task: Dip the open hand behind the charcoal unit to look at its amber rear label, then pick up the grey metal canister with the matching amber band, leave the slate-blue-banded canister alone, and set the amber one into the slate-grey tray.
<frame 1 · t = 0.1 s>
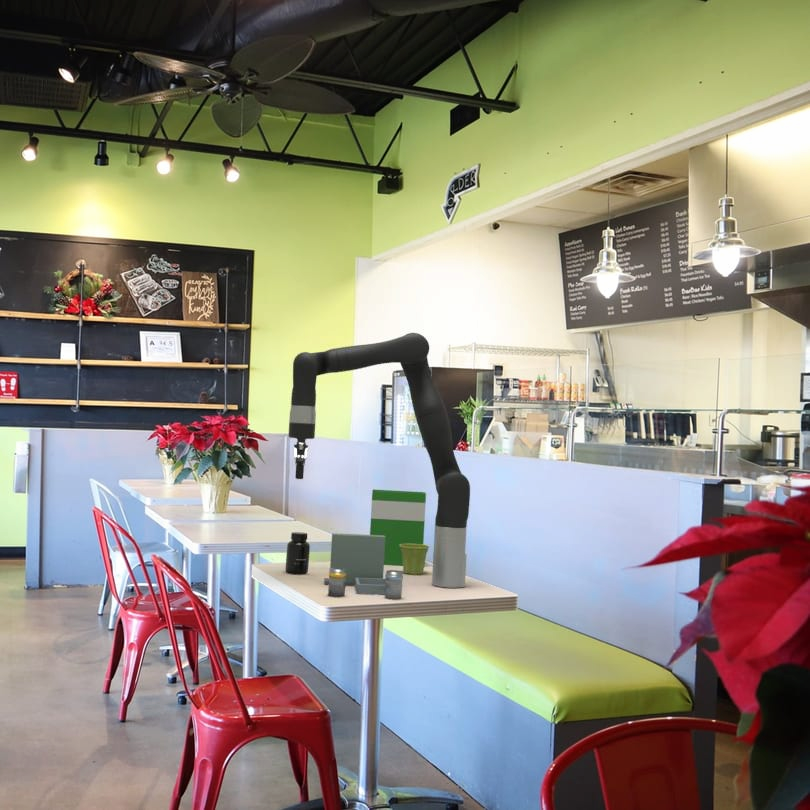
hand: (299, 478, 264), 29 cm above the table, tool pointing down, fingers open, 8 cm apart
hardback book: (395, 564, 305), on the table
supplement bottle: (296, 573, 276), on the table
tray: (375, 590, 253), on the table
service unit: (355, 584, 261), on the table
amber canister: (336, 595, 243), on the table
plant pot: (412, 573, 287), on the table
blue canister: (393, 598, 244), on the table
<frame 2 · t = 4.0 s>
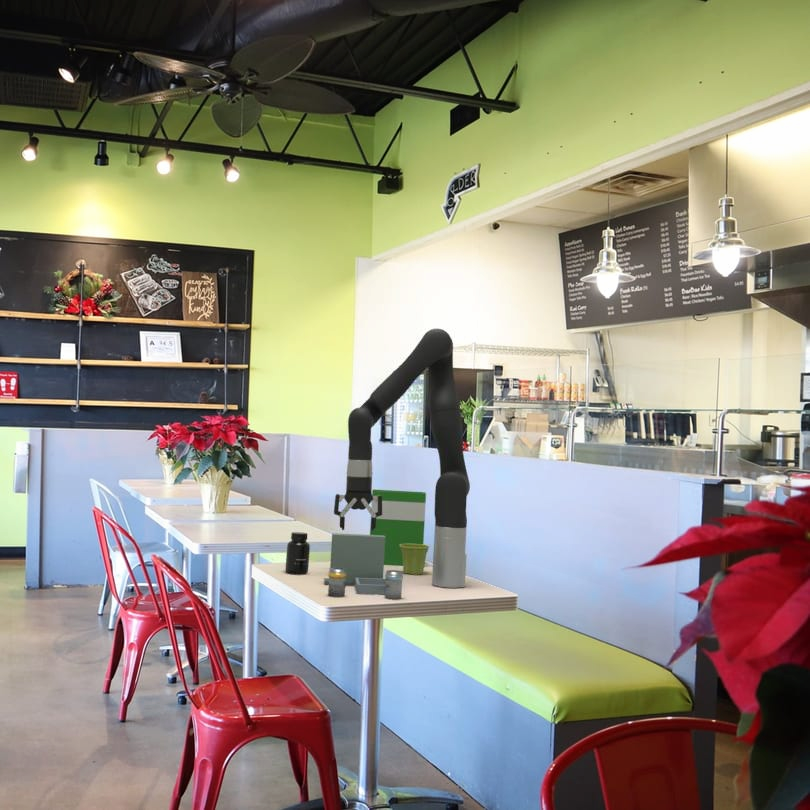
hand: (357, 530, 272), 14 cm above the table, tool pointing down, fingers open, 8 cm apart
nothing on the table moved.
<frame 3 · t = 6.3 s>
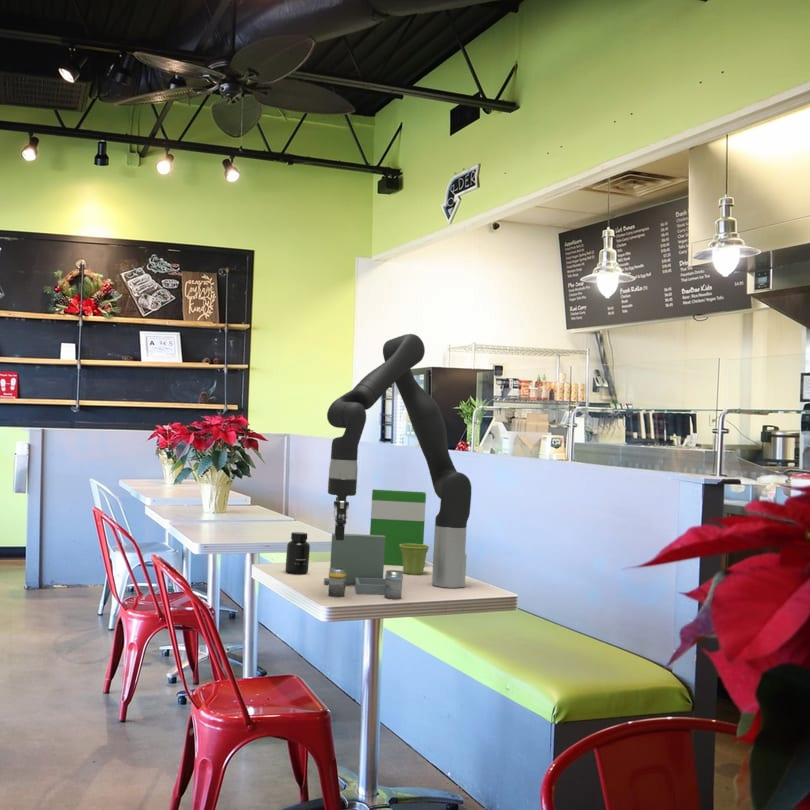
hand: (339, 538, 243), 15 cm above the table, tool pointing down, fingers open, 8 cm apart
nothing on the table moved.
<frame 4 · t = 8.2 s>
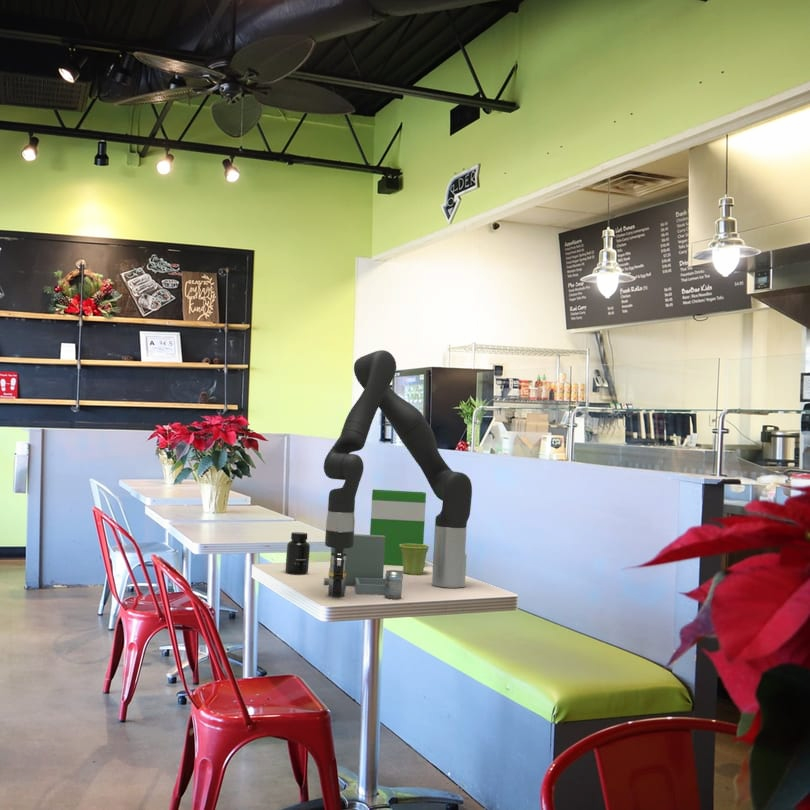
hand: (336, 593, 243), 1 cm above the table, tool pointing down, fingers closed on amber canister, 4 cm apart
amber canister: (336, 595, 243), on the table, touching gripper
everything else where it was.
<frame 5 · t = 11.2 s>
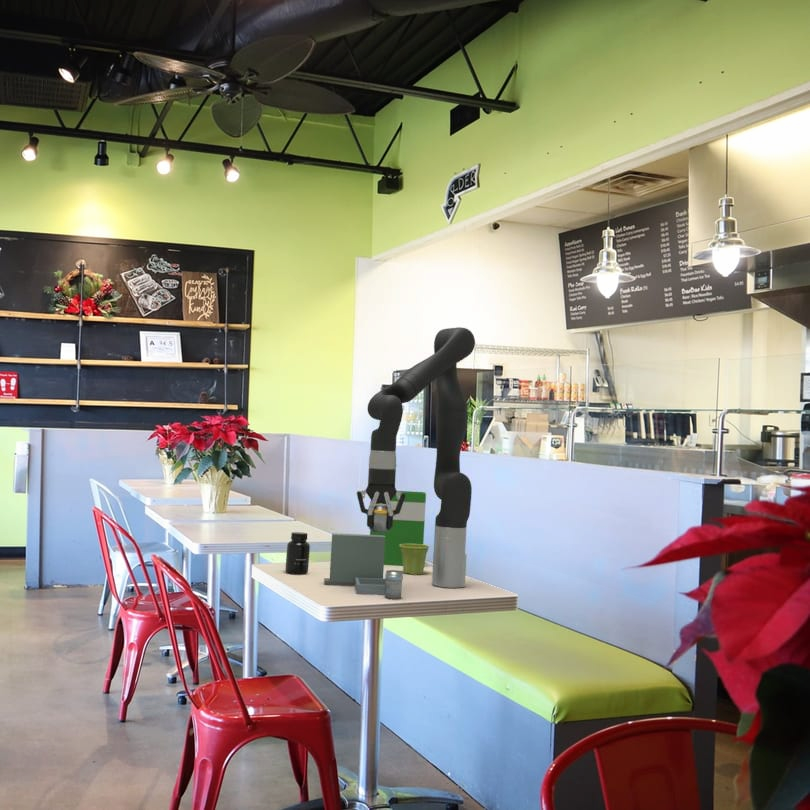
hand: (379, 528, 253), 17 cm above the table, tool pointing down, fingers closed on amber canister, 4 cm apart
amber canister: (379, 531, 253), point 16 cm above the table, touching gripper
everything else where it was.
when the fingers open (3 cm above the table, at t = 14.3 s): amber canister drops 2 cm, resting on tray.
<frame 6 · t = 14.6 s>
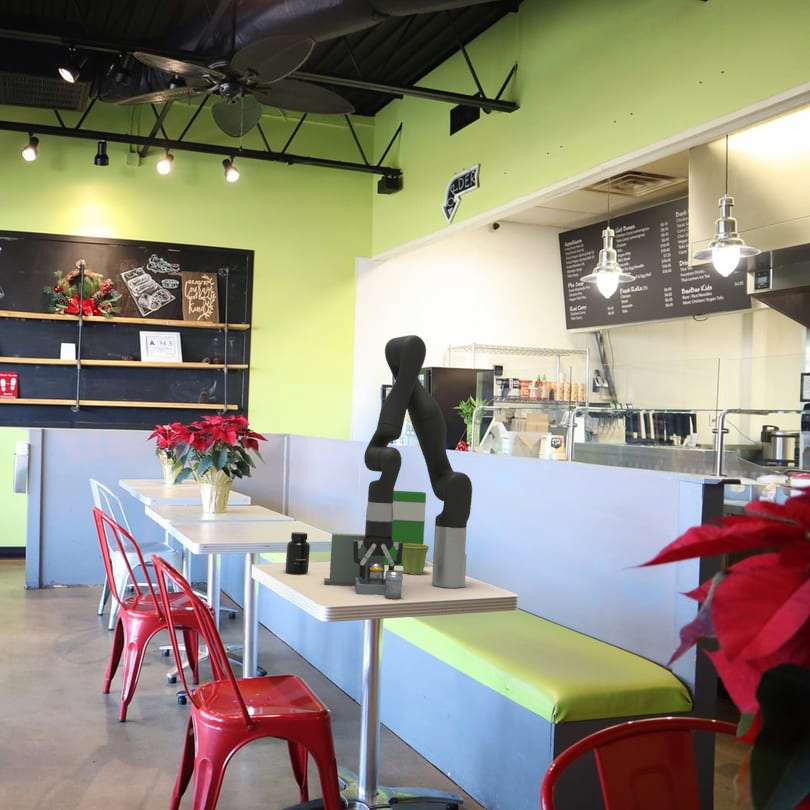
hand: (376, 579, 253), 3 cm above the table, tool pointing down, fingers open, 6 cm apart
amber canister: (375, 588, 253), point 1 cm above the table, touching tray
everything else where it was.
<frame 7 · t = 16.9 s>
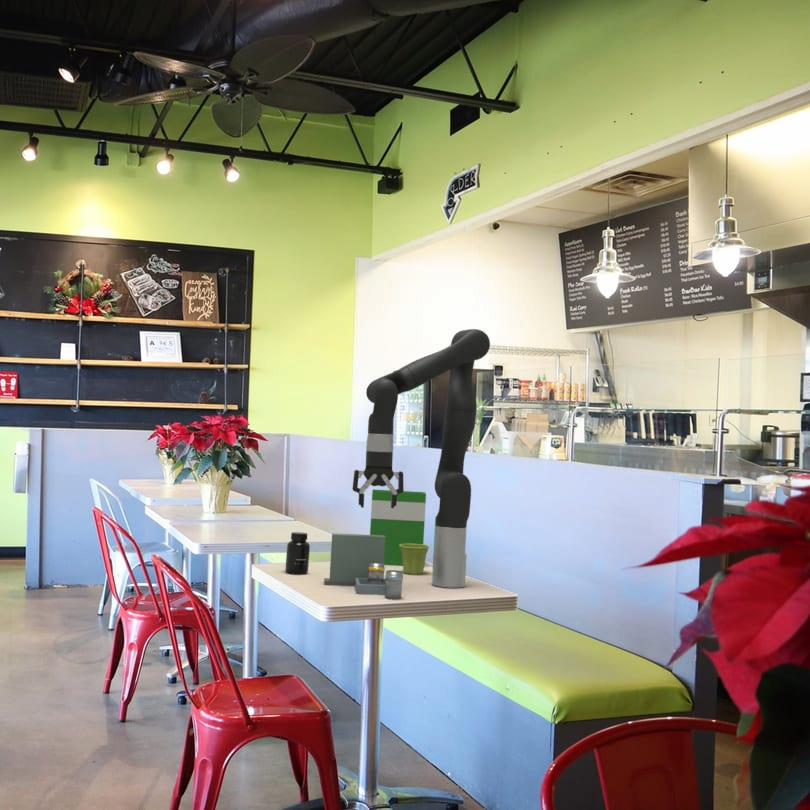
hand: (377, 507, 258), 22 cm above the table, tool pointing down, fingers open, 8 cm apart
nothing on the table moved.
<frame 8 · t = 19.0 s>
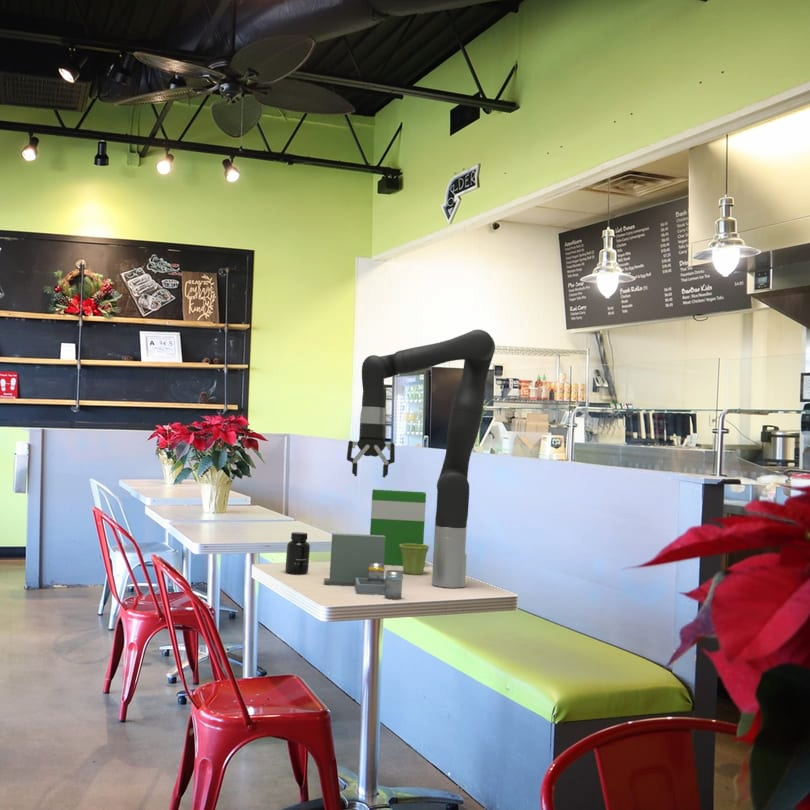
hand: (369, 476, 274), 30 cm above the table, tool pointing down, fingers open, 8 cm apart
nothing on the table moved.
at the end: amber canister 0.1 cm off-centre on the tray, point 0.6 cm above the tray's base; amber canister tilted 0°; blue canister moved 0.0 cm from its start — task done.
